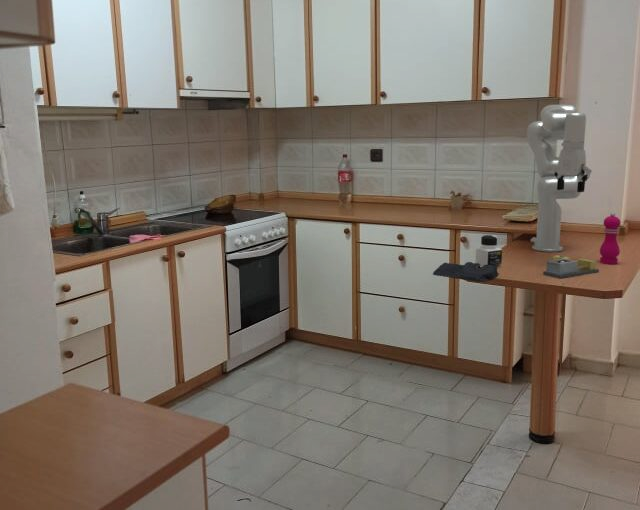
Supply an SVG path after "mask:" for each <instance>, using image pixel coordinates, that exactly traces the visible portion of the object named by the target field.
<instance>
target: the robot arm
mask: <svg viewBox="0 0 640 510" xmlns="http://www.w3.org/2000/svg"><path fill="white" fill-rule="evenodd" d="M540 119H541V120H537V121H533V122H531V123H530V124H529V125H528V127H527V131H526V135H527V141H528V145H529V147H530V149H531V151H532V153H533V155H534V159H535V165H536V171H537V173H538V176H539V177H540V179H539V180H538V181H537V184H536V185H537V196H538V197H537V199H538V201H537V202H538V205H537V207H538V209H537V224H536V225H537V226H536V237H534V236H533V237H531V238H530V242H531V243H534V244H533V245H532V247H531V248H532V249H533V250H534V251H539V252H545V253H546V252H547V253H550V252H551V253H555V252H556V253H557V252H561V251H563V250H564V247H563V246H561V245H560V240H561V239H560V238H561V225H562V212H563V211H562V207H561V205H560V204H559V203H558V202H557V201H558V200H569V199H570V200H572V199H573V200H574V199H577V198H578V197H579V196H580V194H581V193H584V192H585V188H586V187H585V186H586V182H587V181H588V179H589V178H590V176H591V174H592V172H593V171H592V169H590V168H589V167H587V164H586V163H587V157H586V150H585V138H586V137H585V136H586V126H587V117H586V114H585V113H583V112H578V111H577V108H576V106H575V105H572V104H548V105H546V106H544V107H543V108H542V110H541V112H540ZM562 140H563V141H562ZM547 141H562V143H561V146H562V149H560V152H559V155H558V156H559V157H558V156H556V152H555V149H554V147H553V146H552V145H550V144H549V142H547Z"/></svg>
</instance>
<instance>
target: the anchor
mask: <svg viewBox="0 0 640 510" xmlns="http://www.w3.org/2000/svg"><path fill="white" fill-rule="evenodd" d="M558 259H569V260H572V259H571V257H568V256H565V255H562V254H561V255H560V254H559V255H553V256H552V260H558Z"/></svg>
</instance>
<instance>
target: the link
mask: <svg viewBox="0 0 640 510" xmlns="http://www.w3.org/2000/svg"><path fill="white" fill-rule="evenodd" d="M560 261H564V262H563V263H560ZM577 264H578V261H577V260H572V259H571V260H569V259H558V260H553V259H552V260H546V270H545V271H546V272H549V273H553V274H557V275H563V274H569V273H575V272H577Z"/></svg>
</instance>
